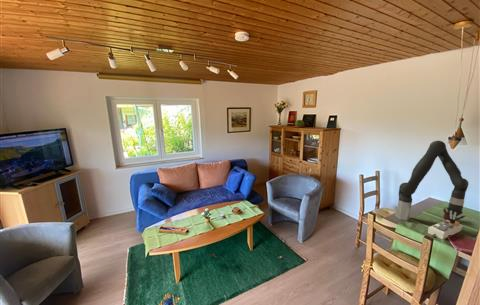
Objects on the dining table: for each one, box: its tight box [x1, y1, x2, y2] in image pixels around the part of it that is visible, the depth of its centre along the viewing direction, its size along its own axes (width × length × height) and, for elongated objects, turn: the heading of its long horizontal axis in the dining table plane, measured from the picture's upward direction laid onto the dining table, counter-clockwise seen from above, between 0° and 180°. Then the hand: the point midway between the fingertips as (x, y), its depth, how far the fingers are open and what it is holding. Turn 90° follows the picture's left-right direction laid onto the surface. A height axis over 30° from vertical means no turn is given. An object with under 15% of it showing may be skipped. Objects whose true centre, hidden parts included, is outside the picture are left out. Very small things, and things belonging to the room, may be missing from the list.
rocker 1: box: [437, 224, 448, 231], centre depth 151 cm, size 6×4×2 cm, turn 112°
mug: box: [442, 206, 450, 221], centre depth 173 cm, size 12×9×10 cm
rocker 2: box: [449, 220, 460, 226], centre depth 157 cm, size 6×4×2 cm, turn 112°
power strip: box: [427, 220, 463, 240], centre depth 155 cm, size 32×9×6 cm, turn 112°
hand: (451, 223), depth 156 cm, fingers closed
